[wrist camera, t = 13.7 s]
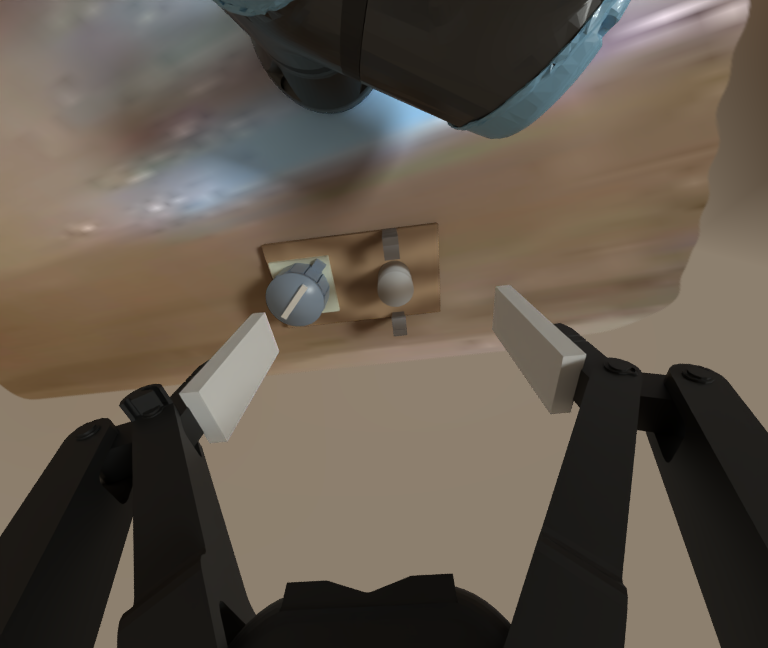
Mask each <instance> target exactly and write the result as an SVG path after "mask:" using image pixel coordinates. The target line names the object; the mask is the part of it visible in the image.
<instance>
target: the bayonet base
mask: <svg viewBox="0 0 768 648" xmlns="http://www.w3.org/2000/svg"><path fill="white" fill-rule="evenodd" d="M261 247H262V250H263V253H264V256H265V259H266V262H267V265H268V268H269V271H270V274H271V277H272V280H273V279H274V277H275V276H276V275H277V274H278V273H280V272H281V271H282V270H283V269H284V268H285V267H287V266H290V265H292V264H294V263H304V264H310V266H311V265H313V264H314V262H315V261H316V259H317V258H318V259H319V260H321V261H322V262H323V263H325V264H326V267H325V268H324V269H323V271H322V274H324V275H325V277H326V279H327V281H328V283H329V286H330V290H329V299H328V301H327V304H326V306H325V308H324V310H323V311H322V313H321V315H320V317H319V318H318V319H317V320H316V321H315V322H313V323H312V324H309V325H306V326H312V325H321V324H330V323H339V322H349V321H358V320H367V319H377V318H386V317H392V325H393V334H394V336H402V335H407V328H406V317H405V315H414V314H423V313H432V312H440V277H439V239H438V223H429V224H421V225H413V226H405V227H397V228H389V229H381V230H374V231H366V232H358V233H350V234H342V235H334V236H326V237H318V238H310V239H302V240H294V241H286V242H278V243H270V244H264V245H262V246H261ZM322 274H321V275H322ZM287 326H288V328H293V327H302V326H291V325H288V324H287Z"/></svg>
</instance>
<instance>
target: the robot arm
mask: <svg viewBox="0 0 768 648" xmlns="http://www.w3.org/2000/svg"><path fill="white" fill-rule="evenodd" d="M213 1H214V2H216V3H217V4H218V6H220V7H221V8H222V9H223V10H224V11H225V12H226V13H227V14H228V15H229V16H230V17H231V18H232V19H233V20H234V21H235V22H236V23H237V24H238V25H239V26H240V27H241V28H242V29H243V30H244V31H245V32H246V33H247V34H248V35H249V36H250V37H251V40H252V43H253V46H254V49H255V51H256V54H257V56H258V58H259V60H260V62H261V64H262V66H263V67H264V69H265V70H266V72H267V74H268V75H269V77H270V78H271V79H272V81H273V82H274V83H275V84H276V85H277V87H278V88H279V89H280V90H281V91H282V92H283V93H285V94H286V95H287V96H288V97H289V98H291V99H292V100H293V101H295V102H296V103H298V104H299V105H301V106H302V107H304V108H307V109H309V110H311V111H315V112H319V113H326V114H332V113H339V112H343V111H346V110H348V109H350V108H352V107H354V106H356V105H357V104H359V103H360V102H361V101H362V100H364V99H365V98H366V97H367V96H368V95H369V93H370V92H371V91H372V89H375V90H377V91H380V92H382V93H384V94H386V95H389V96H391V97H393V98H395V99H398V100H400V101H402V102H404V103H407V104H409V105H411V106H413V107H416V108H418V109H420V110H422V111H425V112H427V113H429V114H431V115H434V116H436V117H438V118H440V119H442V120H445V121H447V123H448V125H449V126H451V127H452V128H454V129H456V130H467V131H470V132H473V133H475V134H478V135H481V136H483V137H486V138H490V139H496V138H505V137H509V136H511V135H514V134H516V133H518V132H519V131H521V130H523V129H524V128H526V127H527V126H529V125H530V124H532V123H533V122H534V121H536V120H537V119H538V118H539V117H540V116H541V115H543V114H544V113H545V112H546V111H547V110H548V109H549V108H550V107H551V106H552V105H553V104H554V103H555V102H556V101H557V100H558V99H559V98H560V97H561V96H562V95H563V94H564V93H565V92H566V91H567V90H568V89H569V88H570V86H571V85H572V84H573V83H574V82H575V81H576V80H577V78H578V77H579V76H580V75H581V74H582V72H583V71H584V70H585V69H586V67H587V66H588V65H589V63H590V62H591V61H592V59H593V58H594V57H595V55H596V54H597V53H598V51H599V50H600V48H601V47H602V38H603V36H604V35H605V34H606V33H607V32H608V31H609V30H610V29H611V28H612V27H613V26H614V25H615V24H616V23H617V22H618V21H619V20H620V18H621V16H622V15H623V13H624V11H625V10H626V8H627V6H628V4H629V3H630V1H631V0H213ZM492 330H493V331H494V333H495V334H496V336H497V337H498V339H499V340H500V341H501V343H502V344H503V346H504V347H505V349H506V350H507V352H508V353H509V355H510V356H511V357H512V359H513V360H514V362H515V363H516V365H517V366H518V368H519V369H520V371H521V372H522V373H523V375H524V376H525V378H526V379H527V381H528V382H529V384H530V385H531V387H532V388H533V390H534V391H535V393H536V394H537V395H538V397H539V398H540V400H541V401H542V403H543V404H544V406H545V407H546V408H547V410H548V411H549V413H550V414H556V413H569V412H571V409H572V405H573V402H574V401H575V403H576V404H577V405H578V406H579V407H580V409H579V412H578V416H577V419H576V422H575V425H574V428H573V431H572V434H571V438H570V441H569V444H568V447H567V450H566V453H565V457H564V460H563V463H562V466H561V469H560V472H559V476H558V479H557V482H556V485H555V488H554V491H553V495H552V498H551V501H550V504H549V507H548V510H547V514H546V517H545V520H544V523H543V527H542V529H541V532H540V535H539V538H538V541H537V544H536V547H535V550H534V554H533V557H532V560H531V563H530V566H529V569H528V572H527V575H526V579H525V582H524V585H523V588H522V591H521V594H520V598H519V601H518V604H517V607H516V611H515V614H514V616H513V620H512V623H511V624H510V623H509V622H508V620H507V619H505V617H503V615H501V614H500V613H499V612H498V611H497V610H496V609H495V608H494V607H493V606H491V605H490V604H489V603H488V602H486V601H485V600H483V599H482V598H480V597H478V596H477V595H475V594H473V593H471V592H469V591H466V590H465V589H461V588H458V587H455V585H454V579H453V574H436V575H417V576H409V577H407V578H405V579H402V580H400V581H397V582H395V583H392V584H390V585H387V586H385V587H382V588H380V589H377V590H375V591H372V592H369V593H366V592H361V591H359V590H355V589H352V588H349V587H346V586H343V585H339V584H336V583H333V582H330V581H309V582H291V583H287V585H286V589H285V594H284V598H282V599H279V600H277V601H276V602H274V603H272V604H270V605H269V606H268V607H266V608H265V609H263V610H262V611H261V612H259V613H258V614H257V615H256V614H255V612H254V611H253V609H252V607H251V605H250V603H249V600H248V597H247V595H246V591H245V588H244V585H243V581H242V578H241V575H240V571H239V568H238V565H237V562H236V558H235V555H234V552H233V548H232V545H231V542H230V538H229V535H228V532H227V529H226V525H225V522H224V519H223V515H222V512H221V509H220V505H219V502H218V499H217V495H216V492H215V489H214V486H213V482H212V479H211V476H210V473H209V469H208V466H207V462H206V459H205V456H204V452H203V449H202V446H201V445H200V443H199V442H198V441H199V439H200V438H201V436H202V435H203V434H204V435H205V436H206V438H207V440H208V441H209V443H218V442H227V441H228V440H229V438H230V436H231V434H232V433H233V431H234V429H235V427H236V425H237V424H238V422H239V421H240V419H241V417H242V415H243V414H244V412H245V410H246V408H247V407H248V405H249V403H250V401H251V400H252V398H253V396H254V395H255V393H256V391H257V389H258V388H259V386H260V384H261V382H262V381H263V379H264V377H265V375H266V374H267V372H268V370H269V368H270V367H271V365H272V363H273V362H274V360H275V358H276V356H277V355H278V353H279V349H278V347H277V344H276V341H275V338H274V336H273V333H272V330H271V327H270V324H269V322H268V319H267V316H266V313H265V312H263V313H254V314H251V316H250V317H249V318H248V319H247V320H246V321H245V322H244V323H243V324H242V325H241V326H240V328H239V329H238V330H237V331H236V332H235V333H234V334H233V335H232V336H231V337H230V338H229V340H228V341H227V342H226V343H225V344H224V345H223V346H222V347H221V348H220V349H219V350H218V351H217V353H216V354H215V355H214V356H213V357H212V358H211V359H210V360H208V361H206V362H205V363H203V364H202V365H201V366H199V367H198V368H197V369H196V370H195V371H194V372H193V373H192V374H191V376H189V377H188V378H187V380H186V382H184V383H183V384H182V385H181V386H180V387H179V388H178V389H177V390H176V391H175V392H174V393H173V394H172V396H171V397H169V396H168V394H167V393H166V391H165V390H164V388H163V387H162V385H161V384H151V385H147V386H144V387H141V388H139V389H137V390H135V391H133V392H132V393H130V394H129V395H127V396H126V397H125V398H124V399H123V400H122V401H121V402H120V405H119V406H120V407H121V409H122V410H123V411H124V413H125V414H126V415H127V416H128V418H129V419H130V420H131V422H128V423H125V424H122V425H118V426H115V425H114V424H113V423H112V421H111V420H110V419H108V418H101V419H97V420H94V421H92V422H89V423H86V424H84V425H83V426H80V427H79V428H77V429H76V430H75V431H74V432H72V433H71V434H70V435H69V436H68V437H67V438H66V439H65V440H64V442H63V443H62V445H61V446H60V448H59V449H58V451H57V452H56V454H55V455H54V457H53V458H52V460H51V462H50V463H49V464H48V466H47V467H46V469H45V470H44V472H43V473H42V475H41V476H40V478H39V479H38V481H37V482H36V484H35V485H34V487H33V488H32V490H31V491H30V493H29V494H28V496H27V497H26V499H25V500H24V502H23V503H22V505H21V506H20V508H19V509H18V511H17V512H16V514H15V515H14V517H13V518H12V520H11V521H10V523H9V524H8V526H7V527H6V529H5V530H4V532H3V533H2V535H1V536H0V648H93V647H94V644H95V641H96V637H97V634H98V631H99V627H100V624H101V621H102V618H103V614H104V611H105V608H106V604H107V601H108V598H109V594H110V591H111V588H112V584H113V581H114V578H115V574H116V571H117V568H118V564H119V561H120V557H121V554H122V551H123V548H124V544H125V541H126V537H127V534H128V531H129V527H130V524H131V521H132V517H133V540H134V605H133V607H132V608H131V609H129V610H128V611H127V612H125V613H124V614H123V615H122V617H121V619H120V621H119V627H118V635H117V648H624V643H625V631H626V619H627V604H628V603H627V602H628V597H627V596H628V595H627V588H626V587H625V586H624V585H623V581H622V573H623V572H622V571H623V562H624V553H625V543H626V533H627V523H628V513H629V502H630V493H631V483H632V473H633V463H634V454H635V444H636V434H637V433H636V432H637V430H642V431H646V434H647V437H648V440H649V443H650V445H651V448H652V451H653V454H654V457H655V460H656V462H657V465H658V468H659V471H660V474H661V477H662V480H663V483H664V485H665V488H666V491H667V494H668V497H669V500H670V503H671V505H672V508H673V511H674V514H675V517H676V520H677V523H678V526H679V528H680V531H681V534H682V537H683V540H684V542H685V546H686V548H687V551H688V554H689V557H690V560H691V562H692V566H693V568H694V571H695V574H696V577H697V580H698V583H699V586H700V589H701V591H702V594H703V597H704V600H705V603H706V606H707V608H708V611H709V614H710V617H711V620H712V623H713V626H714V629H715V631H716V634H717V637H718V640H719V643H720V646H721V648H768V432H767V431H766V430H765V428H764V427H763V426H762V425H761V423H760V422H759V421H758V419H757V418H756V417H755V416H754V414H753V413H752V412H751V410H750V409H749V408H748V407H747V405H746V404H745V403H744V401H743V400H742V399H741V398H740V396H739V395H738V394H737V392H736V391H735V390H734V389H733V387H732V386H731V385H730V383H729V382H728V381H727V380H726V379H725V378H724V377H723V376H721V375H720V374H718V373H716V372H714V371H712V370H710V369H708V368H704V367H702V366H696V365H691V364H676V365H672V366H671V367H670V368H669V370H668V372H667V375H661V374H660V375H659V374H651V373H642V372H641V370H639V368H638V367H636V366H635V365H633V364H631V363H630V362H627V361H624V360H621V359H617V358H607V357H606V356H605V355H603V354H602V353H601V352H600V351H598V350H597V349H596V348H595V347H594V346H593V345H591V344H590V343H589V342H587V341H586V340H585V339H584V338H583V337H582V336H580V335H579V334H578V333H577V332H576V331H575V330H573V329H572V328H570V327H568V326H566V325H564V324H561V323H558V324H552V323H551V322H550V321H549V320H548V319H547V318H546V317H545V316H544V315H542V314H541V313H540V312H539V311H538V310H537V309H536V308H535V307H534V306H532V305H531V304H530V303H529V302H528V301H527V300H526V299H525V298H524V297H522V296H521V295H520V294H519V293H518V292H517V291H516V290H515V289H514V288H513V287H511V286H510V285H505V286H496V288H495V301H494V314H493V327H492Z"/></svg>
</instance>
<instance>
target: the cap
mask: <svg viewBox="0 0 768 648" xmlns="http://www.w3.org/2000/svg"><path fill="white" fill-rule="evenodd" d="M325 267H326V264H325V263H323V262H322V261H321V260H319V259H318V258H317V259H316V261H315V262H314V264H313V265H311V266H310V264H304V263H294V264H292V265H290V266H287V267H285V268H284V269H283V270H282V271H281V272H280V273H278V274H277V275H276V276H275V277H274V279H273V281H272V282H271V283H270V284H269V286H268V288H267V291H266V302H267V306H268V308H269V310H270V311H271V313H272V314H273V315H274V316H275V317H276V318H277V319H278V320H280V321H281V322H283V323H285V324H288V325H291V326H306V325H309V324H312V323H313V322H315V321H316V320H317V319H318V318H319V317H320V315H321V313H322V311H323V310H324V308H325V306H326V304H327V301H328V299H329V290H330V286H329V283H328V281H327V279H326V277H325V275H324V274H322V271H323V269H324V268H325ZM321 274H322V275H321Z"/></svg>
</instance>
